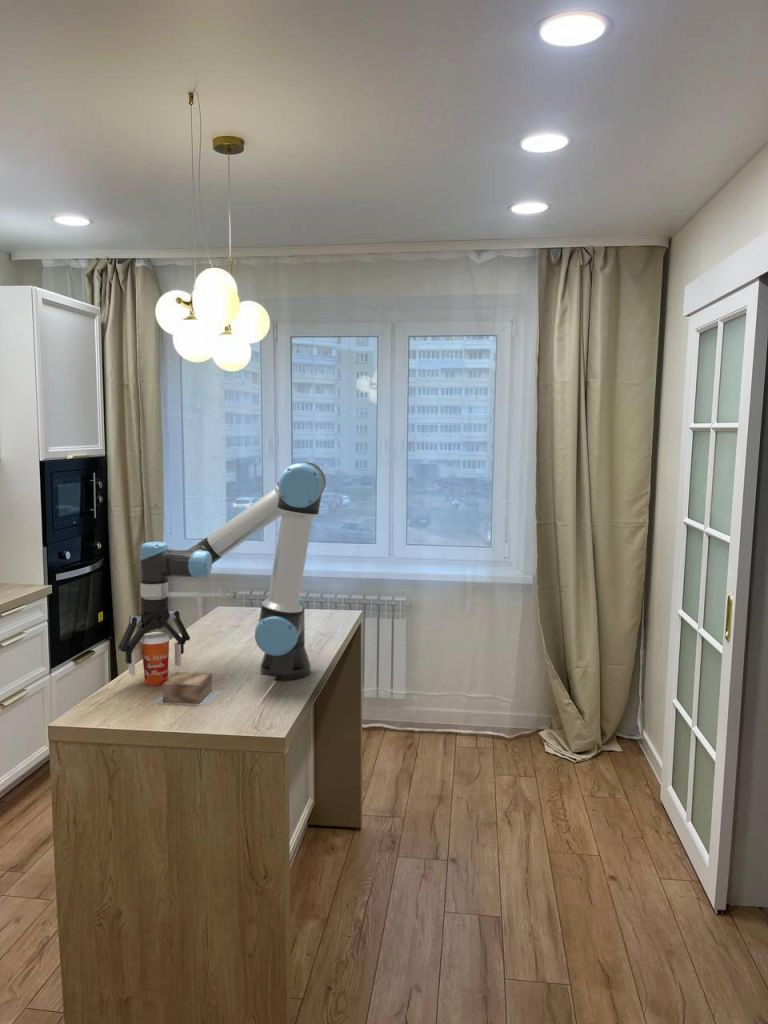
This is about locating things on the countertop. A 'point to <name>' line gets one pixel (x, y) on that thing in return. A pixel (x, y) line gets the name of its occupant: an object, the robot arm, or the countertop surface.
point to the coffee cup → (155, 657)
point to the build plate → (204, 702)
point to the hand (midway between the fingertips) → (155, 669)
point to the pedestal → (187, 688)
